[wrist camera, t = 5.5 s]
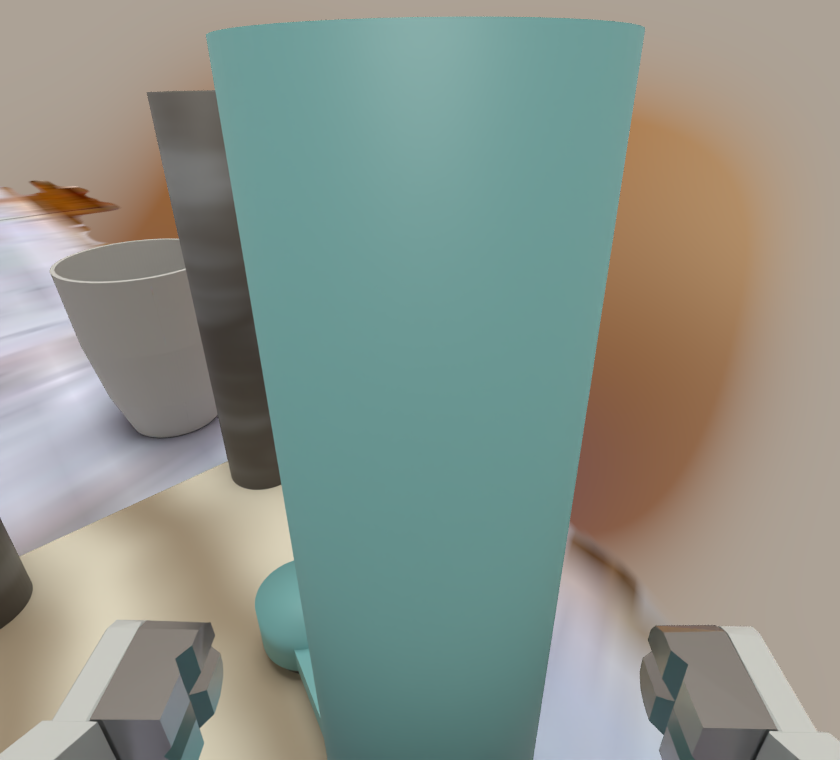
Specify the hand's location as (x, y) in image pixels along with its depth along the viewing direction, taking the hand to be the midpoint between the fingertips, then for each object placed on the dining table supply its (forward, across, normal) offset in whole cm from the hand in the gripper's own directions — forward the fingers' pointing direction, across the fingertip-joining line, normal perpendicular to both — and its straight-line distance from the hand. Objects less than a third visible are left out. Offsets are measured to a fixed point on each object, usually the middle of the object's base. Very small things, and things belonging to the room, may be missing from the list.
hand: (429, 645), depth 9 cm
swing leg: (+2, -2, -7) cm, 8 cm away
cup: (+23, -16, -10) cm, 30 cm away
